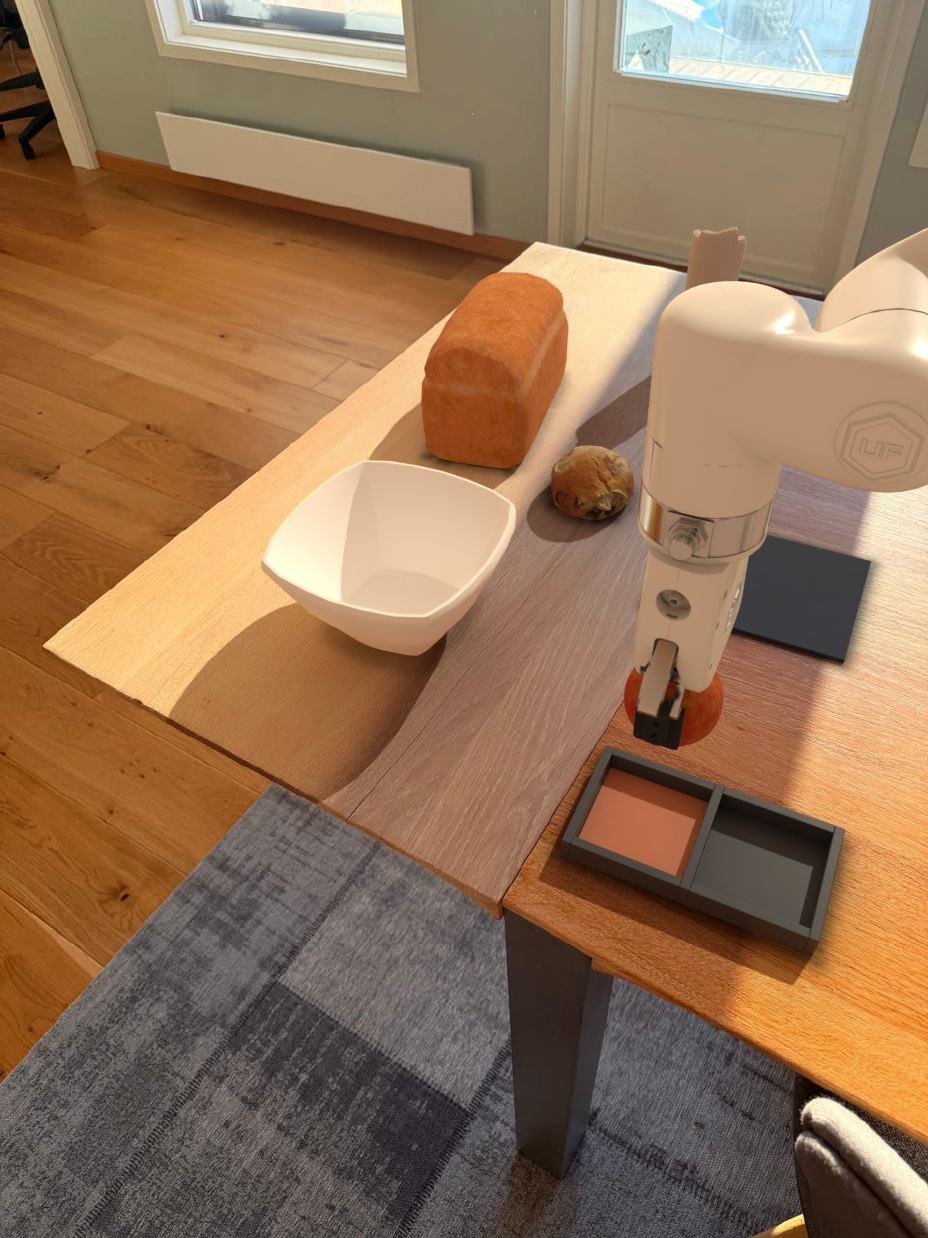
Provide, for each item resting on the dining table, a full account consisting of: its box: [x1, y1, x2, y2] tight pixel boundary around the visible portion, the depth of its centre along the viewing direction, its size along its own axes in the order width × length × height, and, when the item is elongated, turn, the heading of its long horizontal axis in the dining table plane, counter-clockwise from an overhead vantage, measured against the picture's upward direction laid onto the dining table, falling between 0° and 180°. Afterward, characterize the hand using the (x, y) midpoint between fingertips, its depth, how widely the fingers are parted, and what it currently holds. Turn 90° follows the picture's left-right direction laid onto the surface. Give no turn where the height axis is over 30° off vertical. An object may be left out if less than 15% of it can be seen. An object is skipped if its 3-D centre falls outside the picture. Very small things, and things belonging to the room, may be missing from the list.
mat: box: [732, 534, 872, 663], centre depth 97 cm, size 20×16×1 cm
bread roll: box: [550, 445, 635, 521], centre depth 108 cm, size 10×10×8 cm
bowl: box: [260, 459, 517, 657], centre depth 92 cm, size 22×22×12 cm
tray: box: [560, 744, 846, 957], centre depth 74 cm, size 20×11×2 cm, turn 64°
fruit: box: [623, 661, 725, 748], centre depth 65 cm, size 7×7×8 cm
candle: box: [684, 226, 747, 292], centre depth 126 cm, size 7×14×20 cm, turn 154°
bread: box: [420, 271, 569, 469], centre depth 118 cm, size 14×26×16 cm, turn 162°
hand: (672, 700), depth 65 cm, fingers closed on fruit, 7 cm apart
